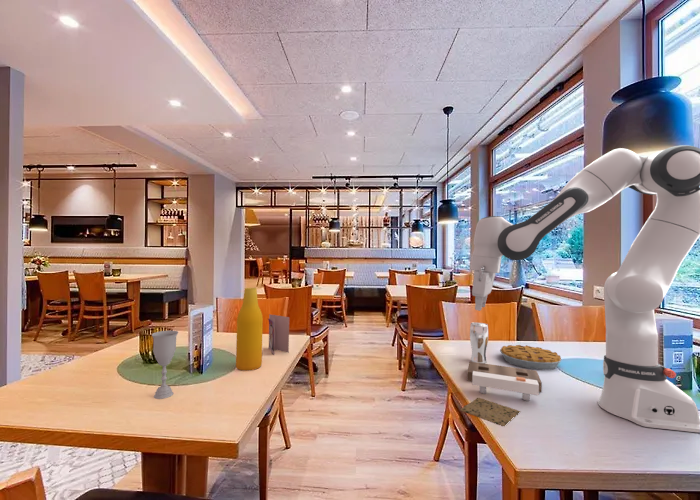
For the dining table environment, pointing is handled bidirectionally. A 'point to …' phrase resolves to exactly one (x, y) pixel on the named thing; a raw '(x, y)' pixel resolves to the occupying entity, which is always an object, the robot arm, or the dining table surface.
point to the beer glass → (479, 342)
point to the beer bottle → (249, 333)
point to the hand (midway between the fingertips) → (480, 308)
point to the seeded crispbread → (490, 411)
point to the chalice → (164, 358)
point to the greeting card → (278, 333)
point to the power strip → (505, 383)
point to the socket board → (503, 371)
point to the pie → (530, 357)
